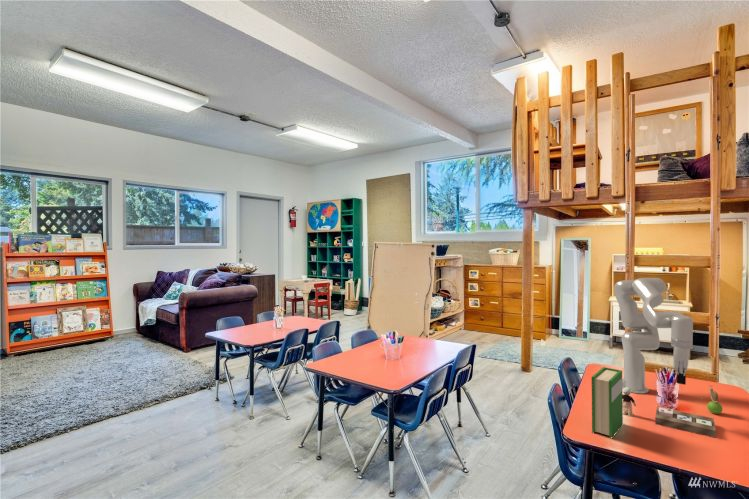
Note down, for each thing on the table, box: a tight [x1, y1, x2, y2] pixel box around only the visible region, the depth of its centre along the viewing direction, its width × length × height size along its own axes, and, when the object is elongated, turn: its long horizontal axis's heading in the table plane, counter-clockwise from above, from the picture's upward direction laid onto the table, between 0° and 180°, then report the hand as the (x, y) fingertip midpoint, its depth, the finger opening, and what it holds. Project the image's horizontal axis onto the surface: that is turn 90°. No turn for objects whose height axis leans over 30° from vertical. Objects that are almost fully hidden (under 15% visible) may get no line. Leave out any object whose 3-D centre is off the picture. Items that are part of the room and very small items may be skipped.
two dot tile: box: [658, 406, 674, 418], centre depth 171 cm, size 5×5×3 cm
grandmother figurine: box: [622, 387, 637, 417], centre depth 178 cm, size 8×4×13 cm, turn 47°
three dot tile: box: [677, 415, 692, 422], centre depth 167 cm, size 5×5×3 cm
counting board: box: [654, 406, 717, 438], centre depth 167 cm, size 20×14×3 cm
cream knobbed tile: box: [696, 419, 712, 426], centre depth 163 cm, size 5×5×3 cm
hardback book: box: [591, 366, 624, 438], centre depth 164 cm, size 18×7×24 cm, turn 135°
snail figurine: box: [706, 385, 723, 415], centre depth 178 cm, size 5×6×12 cm
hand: (681, 383), depth 170 cm, fingers closed
